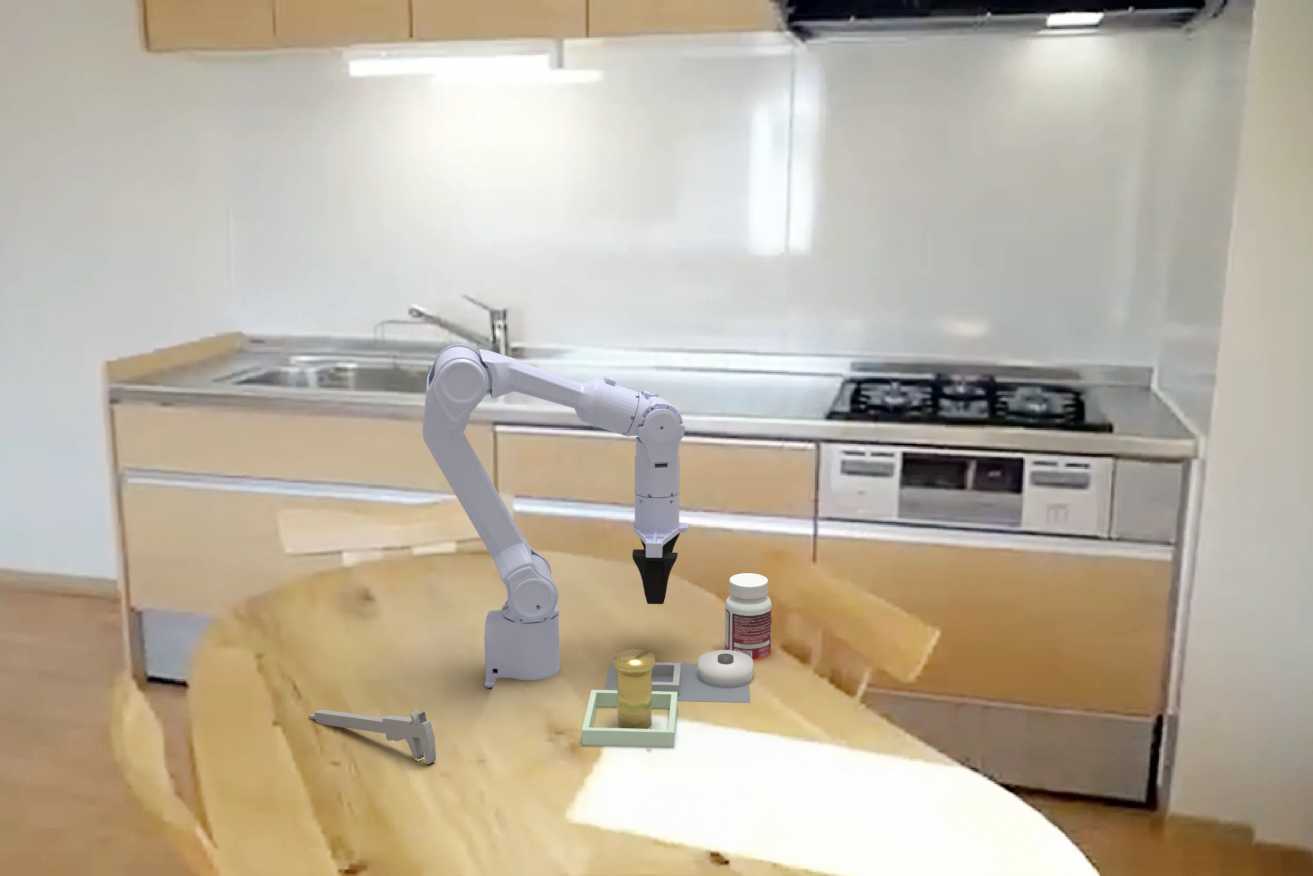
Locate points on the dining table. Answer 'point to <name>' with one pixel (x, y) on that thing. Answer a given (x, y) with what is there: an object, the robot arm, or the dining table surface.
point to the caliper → (388, 729)
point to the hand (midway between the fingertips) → (657, 592)
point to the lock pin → (634, 688)
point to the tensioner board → (692, 687)
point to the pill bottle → (748, 616)
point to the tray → (627, 734)
